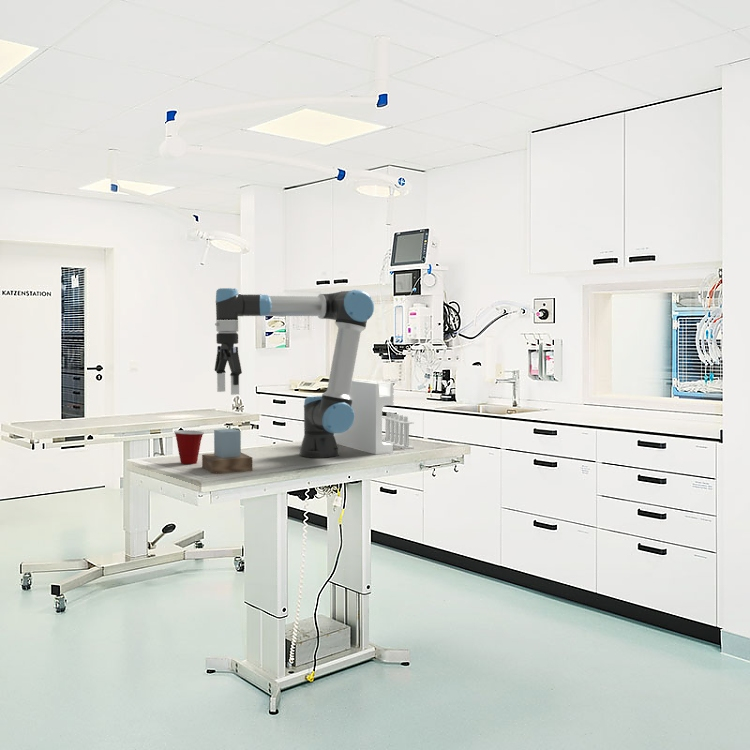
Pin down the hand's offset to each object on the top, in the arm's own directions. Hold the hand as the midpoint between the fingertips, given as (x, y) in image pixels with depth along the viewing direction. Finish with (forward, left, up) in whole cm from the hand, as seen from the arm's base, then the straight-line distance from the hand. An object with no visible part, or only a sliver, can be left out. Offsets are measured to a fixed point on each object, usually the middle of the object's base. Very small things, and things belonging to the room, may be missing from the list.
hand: (228, 393), depth 284 cm
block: (-65, -19, -27) cm, 73 cm away
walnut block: (+1, +1, -27) cm, 27 cm away
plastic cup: (+9, -17, -27) cm, 33 cm away
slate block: (+1, +1, -22) cm, 22 cm away
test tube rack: (-82, -20, -27) cm, 89 cm away
